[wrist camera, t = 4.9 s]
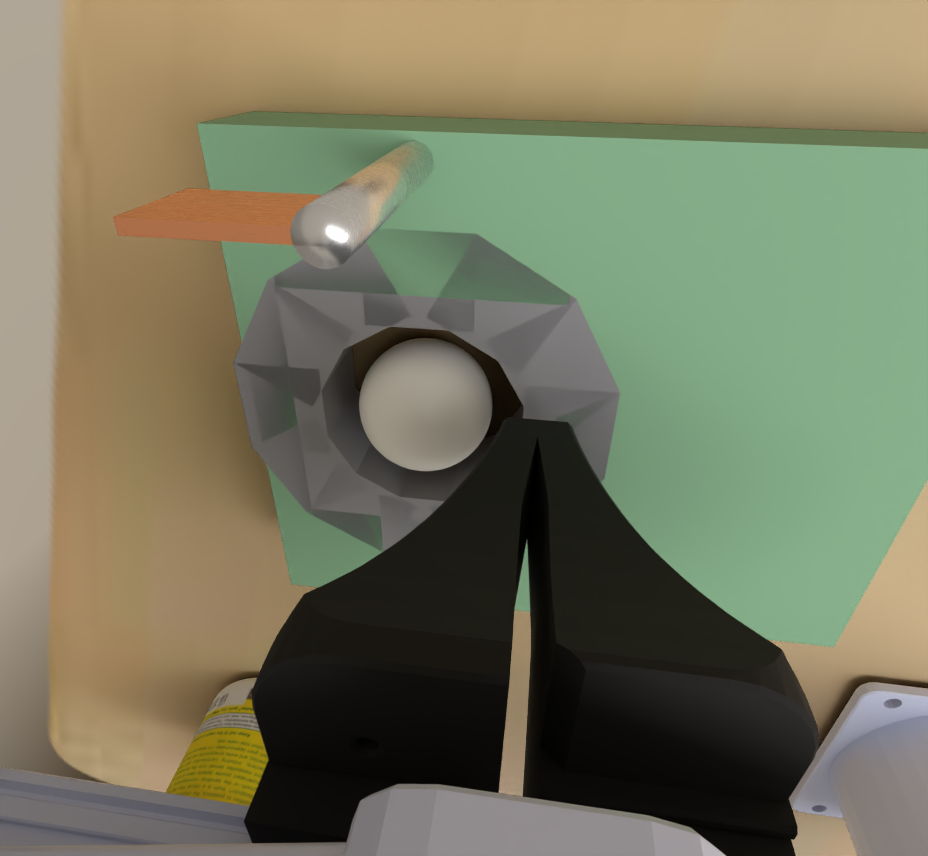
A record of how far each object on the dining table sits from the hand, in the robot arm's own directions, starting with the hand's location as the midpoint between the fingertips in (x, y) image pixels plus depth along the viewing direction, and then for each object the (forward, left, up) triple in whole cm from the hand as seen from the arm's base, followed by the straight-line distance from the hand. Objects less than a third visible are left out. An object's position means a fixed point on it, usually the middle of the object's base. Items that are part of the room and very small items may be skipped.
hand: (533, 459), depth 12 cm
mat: (-1, 0, -3) cm, 4 cm away
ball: (+3, 0, -2) cm, 3 cm away
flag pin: (+4, -6, -1) cm, 7 cm away
